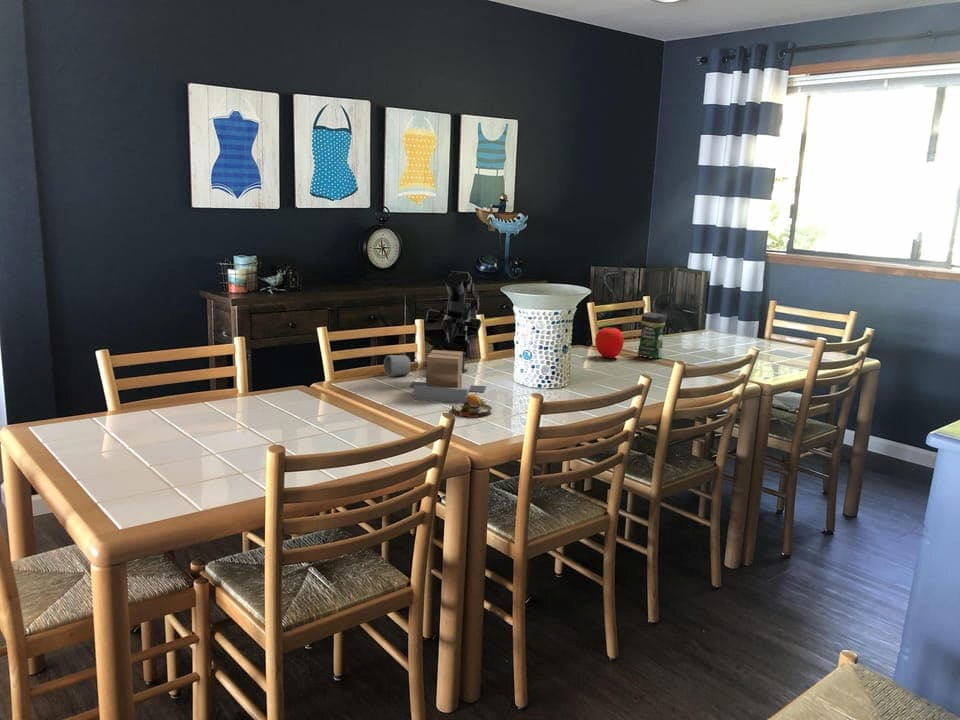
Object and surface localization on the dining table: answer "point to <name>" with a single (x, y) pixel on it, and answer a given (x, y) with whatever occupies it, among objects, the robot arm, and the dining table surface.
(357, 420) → the dining table surface
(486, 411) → the burger
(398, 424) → the dining table surface
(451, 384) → the walnut block
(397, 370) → the ceramic mug
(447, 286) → the robot arm
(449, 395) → the grey t-shaped block
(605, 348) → the red apple
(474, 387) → the mats
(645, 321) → the coffee jar
